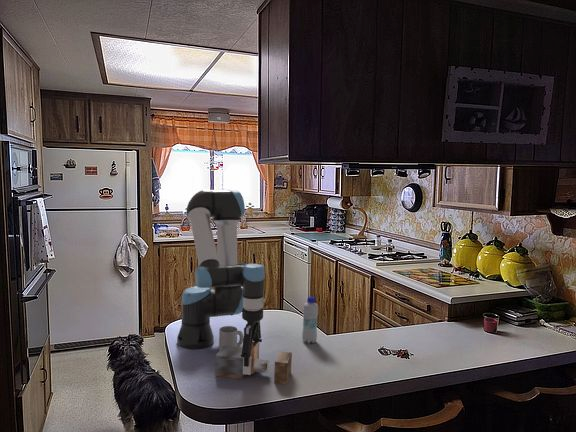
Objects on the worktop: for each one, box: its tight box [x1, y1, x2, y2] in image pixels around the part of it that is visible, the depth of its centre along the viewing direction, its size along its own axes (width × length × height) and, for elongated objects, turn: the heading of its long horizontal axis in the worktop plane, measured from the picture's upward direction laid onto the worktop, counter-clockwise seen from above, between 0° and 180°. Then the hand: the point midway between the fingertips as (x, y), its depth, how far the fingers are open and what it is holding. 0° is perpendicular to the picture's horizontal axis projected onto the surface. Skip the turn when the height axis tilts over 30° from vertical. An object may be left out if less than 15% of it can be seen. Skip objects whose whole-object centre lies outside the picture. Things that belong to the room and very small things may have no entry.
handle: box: [251, 341, 270, 375], centre depth 156 cm, size 18×5×10 cm, turn 80°
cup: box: [218, 325, 244, 352], centre depth 175 cm, size 7×10×9 cm
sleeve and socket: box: [214, 346, 293, 385], centre depth 156 cm, size 26×9×8 cm, turn 80°
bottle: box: [302, 296, 319, 345], centre depth 187 cm, size 7×7×20 cm
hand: (251, 366), depth 156 cm, fingers open, 11 cm apart
